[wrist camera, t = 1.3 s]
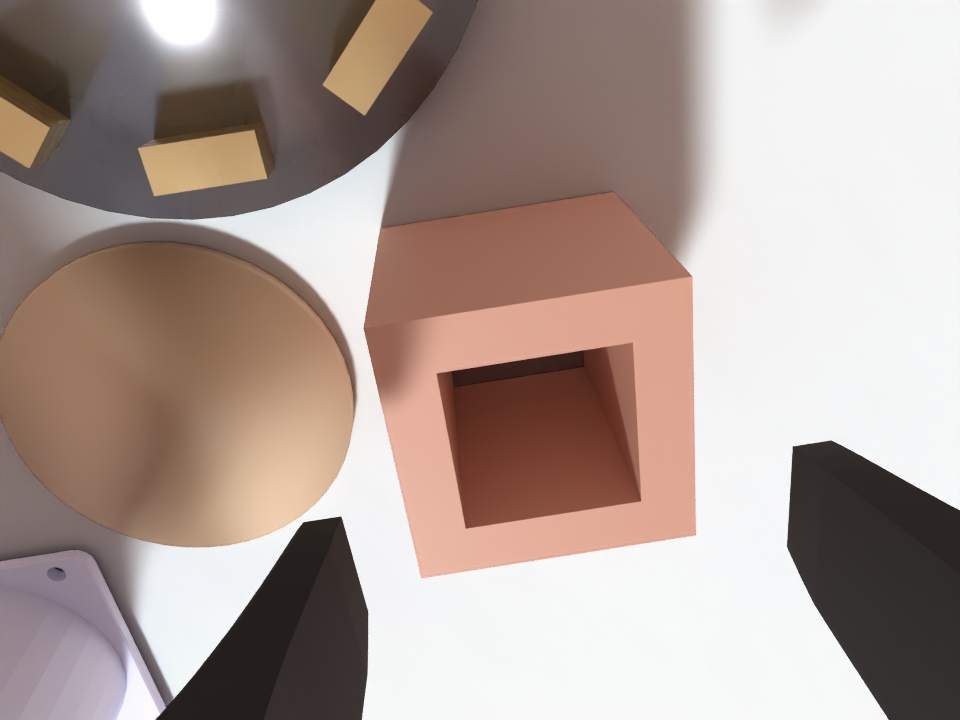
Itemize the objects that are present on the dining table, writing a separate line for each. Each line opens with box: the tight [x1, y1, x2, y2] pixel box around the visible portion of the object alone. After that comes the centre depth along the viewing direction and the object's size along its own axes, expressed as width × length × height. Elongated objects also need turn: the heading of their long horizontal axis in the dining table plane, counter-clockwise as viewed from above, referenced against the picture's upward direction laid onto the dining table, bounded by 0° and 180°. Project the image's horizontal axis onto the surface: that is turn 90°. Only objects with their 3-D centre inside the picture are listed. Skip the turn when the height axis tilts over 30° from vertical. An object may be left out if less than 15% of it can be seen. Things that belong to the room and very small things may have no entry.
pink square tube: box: [364, 192, 696, 578], centre depth 17 cm, size 6×6×6 cm
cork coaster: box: [0, 242, 354, 547], centre depth 20 cm, size 9×9×1 cm
